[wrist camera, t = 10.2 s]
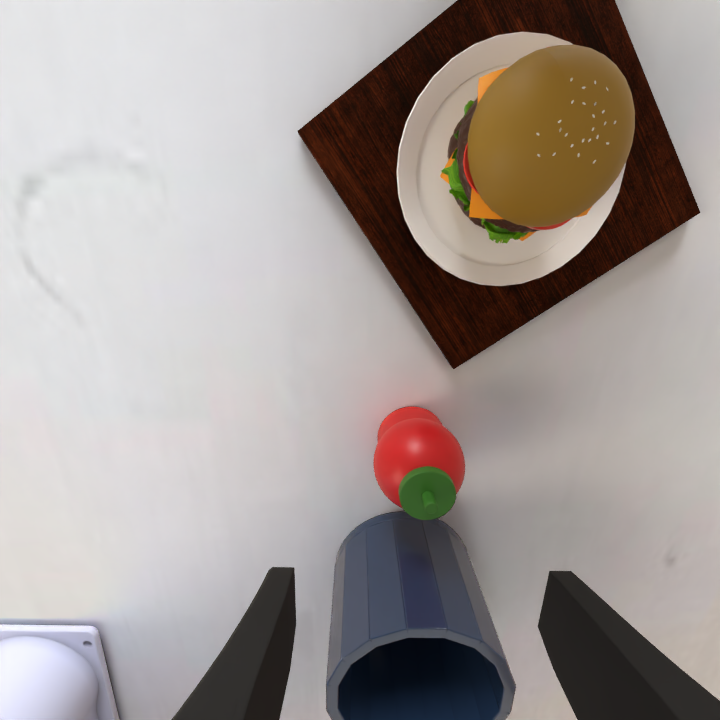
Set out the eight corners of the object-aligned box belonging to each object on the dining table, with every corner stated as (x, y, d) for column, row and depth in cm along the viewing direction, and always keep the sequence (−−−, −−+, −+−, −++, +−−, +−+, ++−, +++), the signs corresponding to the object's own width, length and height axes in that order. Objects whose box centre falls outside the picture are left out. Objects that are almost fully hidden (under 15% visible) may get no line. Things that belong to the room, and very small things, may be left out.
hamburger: (451, 366, 18) (490, 414, 12) (299, 134, 15) (266, 69, 10) (690, 213, 16) (858, 193, 10) (568, -85, 13) (713, -318, 8)
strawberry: (446, 471, 19) (479, 554, 14) (370, 470, 19) (374, 552, 14) (453, 401, 18) (492, 461, 13) (372, 399, 18) (378, 459, 13)
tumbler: (460, 617, 22) (501, 761, 16) (335, 616, 22) (326, 759, 16) (474, 512, 20) (528, 630, 14) (335, 509, 20) (325, 627, 14)
